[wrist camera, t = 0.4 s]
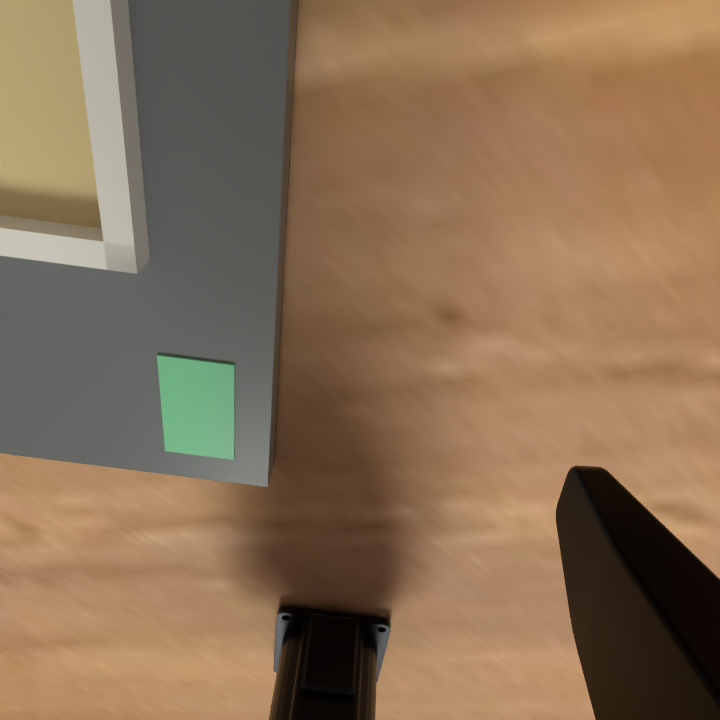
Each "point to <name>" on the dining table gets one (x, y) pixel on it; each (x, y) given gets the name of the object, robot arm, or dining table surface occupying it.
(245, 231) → the tester board
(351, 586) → the dining table surface
